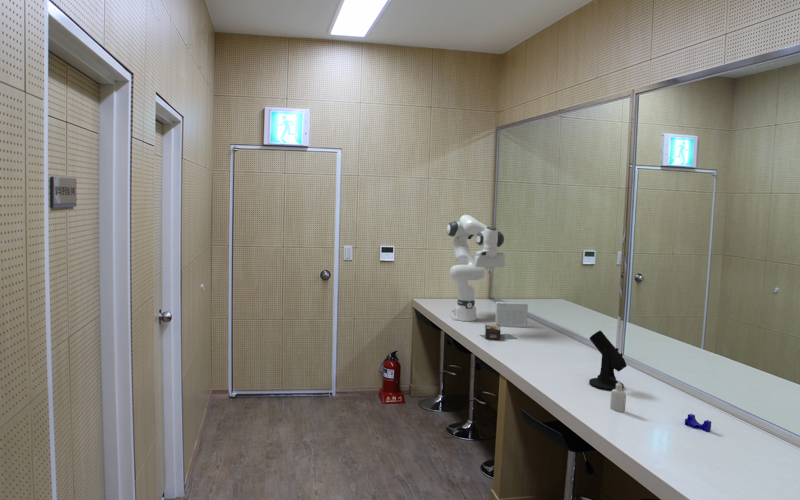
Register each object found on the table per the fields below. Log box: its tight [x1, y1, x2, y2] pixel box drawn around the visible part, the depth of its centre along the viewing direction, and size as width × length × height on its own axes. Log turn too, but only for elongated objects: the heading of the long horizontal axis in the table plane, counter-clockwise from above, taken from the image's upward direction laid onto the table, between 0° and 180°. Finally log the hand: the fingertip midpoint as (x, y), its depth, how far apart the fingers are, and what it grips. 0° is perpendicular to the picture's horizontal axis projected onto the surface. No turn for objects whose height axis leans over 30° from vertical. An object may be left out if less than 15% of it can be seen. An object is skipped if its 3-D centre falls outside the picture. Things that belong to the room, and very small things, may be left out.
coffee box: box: [484, 322, 502, 341], centre depth 333 cm, size 9×6×16 cm
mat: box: [479, 333, 518, 341], centre depth 334 cm, size 11×20×1 cm, turn 107°
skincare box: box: [494, 301, 529, 328], centre depth 365 cm, size 21×6×16 cm, turn 84°
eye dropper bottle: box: [609, 380, 627, 413], centre depth 218 cm, size 4×6×12 cm
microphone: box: [588, 330, 628, 392], centre depth 247 cm, size 15×17×25 cm
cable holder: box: [684, 413, 712, 433], centre depth 203 cm, size 8×4×4 cm, turn 27°
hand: (489, 273), depth 347 cm, fingers closed
